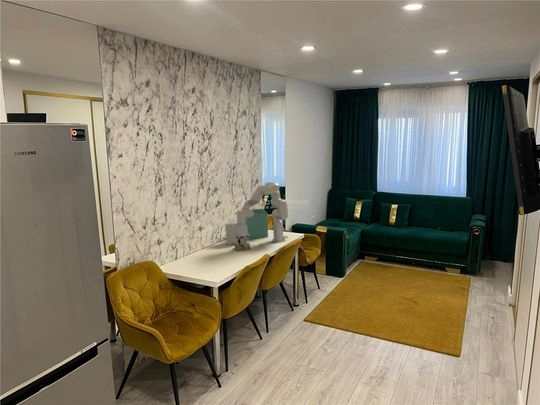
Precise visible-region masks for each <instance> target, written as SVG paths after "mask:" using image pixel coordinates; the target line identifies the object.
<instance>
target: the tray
mask: <svg viewBox="0 0 540 405" xmlns="http://www.w3.org/2000/svg"><path fill="white" fill-rule="evenodd" d="M248 243H249V242H248ZM248 243H246V244H245V245H240V244H234V249H235V250H236V251H237V252H244V250H245V251H250V250H251V246H249V245H248Z"/></svg>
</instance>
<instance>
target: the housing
mask: <svg viewBox="0 0 540 405" xmlns="http://www.w3.org/2000/svg"><path fill="white" fill-rule="evenodd" d="M239 239H240V245H245V244H246V238H245V236H242V237H240V238H239Z"/></svg>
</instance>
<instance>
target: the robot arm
mask: <svg viewBox="0 0 540 405" xmlns="http://www.w3.org/2000/svg"><path fill="white" fill-rule="evenodd" d="M280 189H281V188H280V185H279V183H276V182H271V181H270V182H266V183H264V185H258V186H257V187H256V189H255V191H254V193H253V194H252V196H251V198H250V199H249V200H246V202H245V203H244V204H243V205H242V208H241V210H237V211H236V222H235V223H236V225H237V228H236V234H235V235H234V237H236V238H237V239H238V243H239V244H240V239H239V238H240V237H242V236H244V237H245V238H246V242H248V241H247V239H248V238H247V237H248V236H249V235H250V234H249V233H248V231H247V225H246V223H245V218H251V217H253V215H254V212H253V211H252V210H253V209H251V208H252V207H253V206H255V205H258V204H259V203H260V202H261V200H262V198H263V197H264V196H269V195H270V196H271V203H272V207H273V208H275V209H273V210H272V212H271V217H272V224H273V226H272V228H273V229H272V230H273V232H272V233H273V238H272V240H271V241H272V242H275V243H281V242H285V240H286V239H288V238H289V237H288V235H284V223H283V221H286V220H287V219H288V217H289V211H288V210H289V209H288V203H287V201H286V200H285V199H282V198H281V193H280ZM236 235H237V236H238V237H237V236H236Z"/></svg>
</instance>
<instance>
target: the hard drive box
mask: <svg viewBox="0 0 540 405" xmlns="http://www.w3.org/2000/svg"><path fill="white" fill-rule="evenodd" d="M236 223H237V222H227V223H226V224H225V239H226V245H235V244H239V243H238V239H237V238H236V237H234V235H235V234H236V228H237V225H236ZM236 236H237V235H236ZM237 237H238V236H237Z"/></svg>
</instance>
